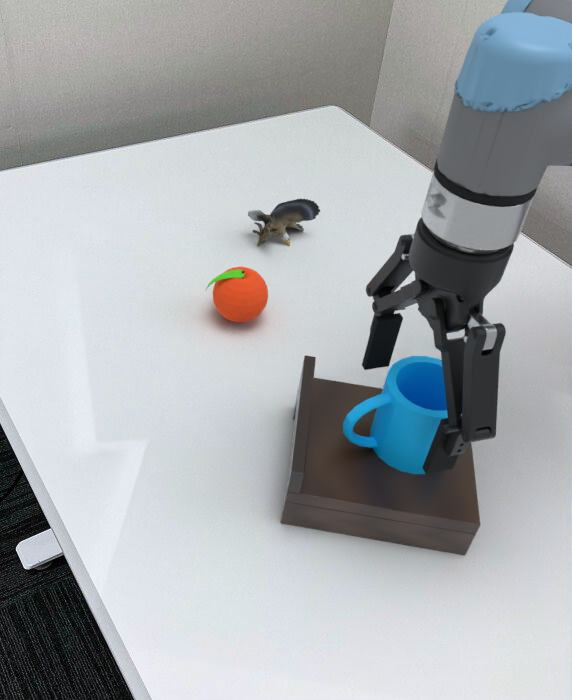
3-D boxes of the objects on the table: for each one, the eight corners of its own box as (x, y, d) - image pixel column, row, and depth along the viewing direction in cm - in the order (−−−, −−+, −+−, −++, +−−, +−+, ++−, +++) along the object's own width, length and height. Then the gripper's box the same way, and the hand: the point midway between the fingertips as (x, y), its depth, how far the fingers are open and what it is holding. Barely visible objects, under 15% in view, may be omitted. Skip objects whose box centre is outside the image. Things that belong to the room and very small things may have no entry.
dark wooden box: (454, 432, 86) (475, 382, 81) (465, 555, 75) (490, 505, 69) (294, 406, 88) (304, 354, 82) (280, 523, 76) (291, 472, 70)
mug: (429, 407, 82) (450, 351, 76) (464, 468, 76) (489, 411, 71) (322, 422, 79) (336, 365, 74) (350, 485, 74) (367, 428, 68)
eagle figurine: (288, 258, 107) (329, 224, 110) (266, 212, 104) (309, 179, 108) (254, 259, 113) (294, 227, 117) (233, 216, 110) (275, 185, 114)
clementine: (208, 337, 95) (212, 291, 90) (197, 301, 100) (200, 256, 95) (271, 331, 97) (277, 286, 92) (257, 296, 102) (263, 252, 97)
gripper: (358, 153, 68) (320, 334, 82) (511, 340, 51) (429, 528, 65) (435, 147, 70) (385, 325, 84) (607, 325, 52) (507, 511, 67)
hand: (404, 414), depth 74 cm, fingers open, 13 cm apart
